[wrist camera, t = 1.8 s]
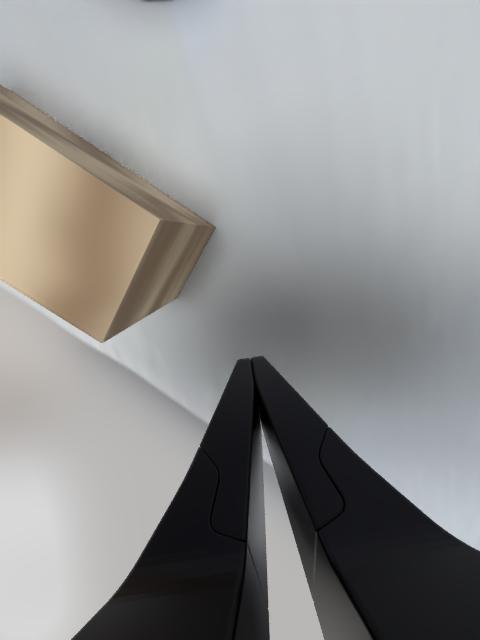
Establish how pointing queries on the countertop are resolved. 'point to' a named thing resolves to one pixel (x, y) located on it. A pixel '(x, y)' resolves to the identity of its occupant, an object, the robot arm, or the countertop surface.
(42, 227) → the bar
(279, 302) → the countertop surface
